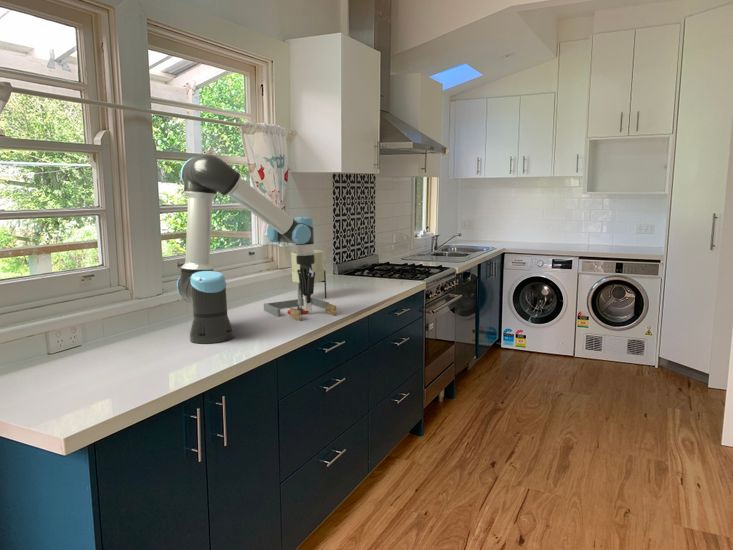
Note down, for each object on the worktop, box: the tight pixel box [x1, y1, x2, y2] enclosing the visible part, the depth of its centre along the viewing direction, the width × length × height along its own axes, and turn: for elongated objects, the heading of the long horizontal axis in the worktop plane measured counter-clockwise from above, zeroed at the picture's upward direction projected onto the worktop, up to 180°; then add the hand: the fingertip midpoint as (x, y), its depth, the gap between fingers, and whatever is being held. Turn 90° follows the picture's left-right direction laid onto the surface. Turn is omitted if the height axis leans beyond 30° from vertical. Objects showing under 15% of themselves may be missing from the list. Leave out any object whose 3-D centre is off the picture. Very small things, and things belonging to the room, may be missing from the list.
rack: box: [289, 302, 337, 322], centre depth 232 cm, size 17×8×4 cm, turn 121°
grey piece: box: [263, 296, 330, 317], centre depth 246 cm, size 24×16×3 cm, turn 121°
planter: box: [290, 249, 327, 299], centre depth 269 cm, size 15×16×23 cm
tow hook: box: [287, 283, 309, 315], centre depth 240 cm, size 8×13×9 cm
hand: (307, 310), depth 237 cm, fingers closed
